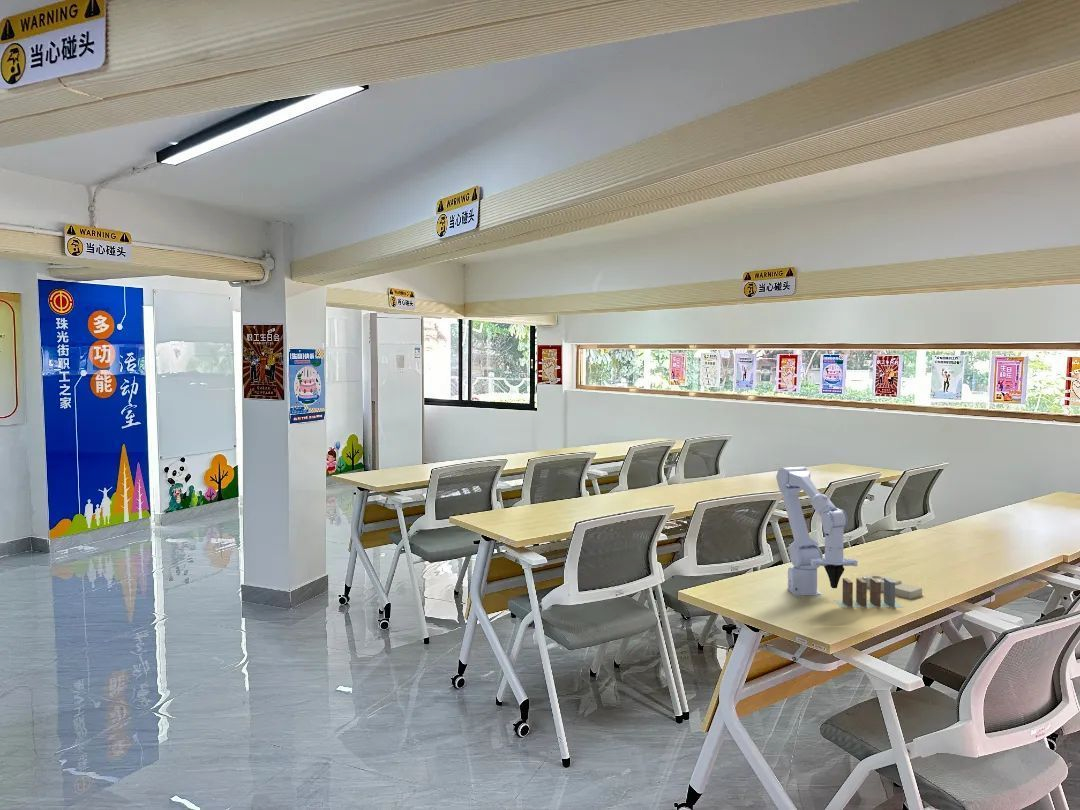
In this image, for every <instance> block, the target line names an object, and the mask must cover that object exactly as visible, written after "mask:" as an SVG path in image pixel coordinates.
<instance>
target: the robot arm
mask: <svg viewBox="0 0 1080 810" xmlns="http://www.w3.org/2000/svg"><path fill="white" fill-rule="evenodd" d="M775 478H776V482H777V486H778V490H779V492H780V493H781V496H782V499H783V503H784V504H783V505H784V507H785V511H786V514H787V515H786V516H787V520H788V522H789V526H790V530H791V533H792V536H793V541H792V543H791V544H790V545H789V547H788V548H789V549H788V550H789V560H790V562H791V564H792V565H793V566H789V567H788V568H787V587H786V589H787V590H788V591H789V592H790V593H791V594H792V595H793V596H821V595H822V592H820V591H819V590H818V568H820V567H824V569H825V571H826V573H827V576H828V580H829V583H830V587H831V588H832V589H837V588H838V586H839V581H840V579H841V576H842V575H843V573H845V567H850V566H851V567H858V560H857V559H855V558H844V532H845V531H844V528H846V526H847V525H848V521H849V520H848V519H849V518H848V515H847V513H846V511H845V510H844V509H840V508H838V507H836V506H835V504H834V503H833V502H832V501H831V500H830V498H829V496H827V495H826V494H824V493H820V491H819V490H818V488H817V487H816V486H815V483H814V482H813V481H812V479H811V472H810V471H809V469H808V468H807V467H806V466H804V465H801V466H792V467H782V466H781V467H780V468H779V469H778V470H777V473H776V476H775ZM802 491H803V493H805V494H806V496H807V497H809V499H811V502H810V503H811V506H812V507H813V509H814V510H815V511H816V513H817V514H818V515H819V516H820V523H821V525H822V531H823V533H824V555H823V552H822V550H821V549H820V547H819V544H818V542H817V541H816V540H814V539H812V537H810V534H809V529H808V527H807V523H806V520H805V516H804V512H803V509H802V505H801V501H800V498H799V493H800V492H802Z"/></svg>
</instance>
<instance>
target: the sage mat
mask: <svg viewBox="0 0 1080 810" xmlns="http://www.w3.org/2000/svg"><path fill="white" fill-rule="evenodd" d="M833 601H834V602H835V603H836V604H837V605H839V606H840V607H841V608H849V607H848V606H847V605H846V604H845V603H843V599H842V600H841V599H837V600H836V599H835V600H833ZM852 608H863V607H862V606H861V605H860V604H858V603H857V602H856V599H855V600H854V599H853V607H852ZM866 608H877V607H876V606H875V605H874V604H872V603H871V602H870V599H869V600H867V607H866ZM880 608H891V607H890V606H889V605H888V604H886V603H885V602H884V599H882V600H881V607H880ZM894 608H904V606H903V605H902V604H900V603H899V602H898V601H897V600H895V607H894Z"/></svg>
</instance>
